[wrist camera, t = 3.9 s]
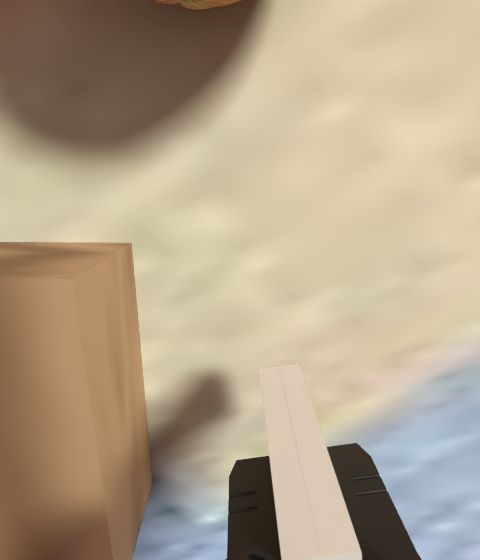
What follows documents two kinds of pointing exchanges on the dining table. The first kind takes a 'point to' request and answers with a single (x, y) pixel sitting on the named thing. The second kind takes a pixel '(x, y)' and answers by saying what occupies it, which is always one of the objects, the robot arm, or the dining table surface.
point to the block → (71, 403)
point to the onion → (199, 3)
